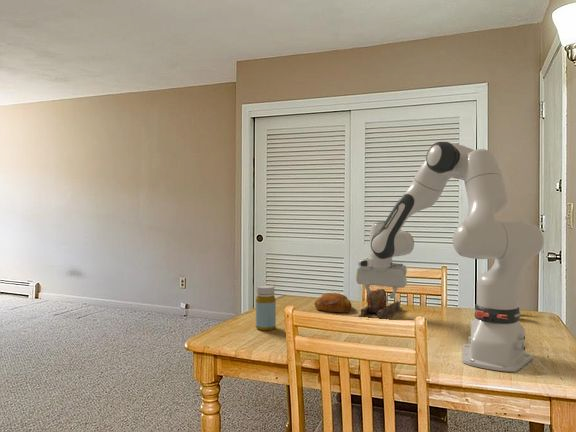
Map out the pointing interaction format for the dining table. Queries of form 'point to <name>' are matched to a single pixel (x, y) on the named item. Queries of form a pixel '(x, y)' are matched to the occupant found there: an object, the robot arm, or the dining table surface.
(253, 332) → the dining table surface
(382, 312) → the rack
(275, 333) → the dining table surface
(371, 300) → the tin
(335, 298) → the round bread loaf
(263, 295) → the bottle
